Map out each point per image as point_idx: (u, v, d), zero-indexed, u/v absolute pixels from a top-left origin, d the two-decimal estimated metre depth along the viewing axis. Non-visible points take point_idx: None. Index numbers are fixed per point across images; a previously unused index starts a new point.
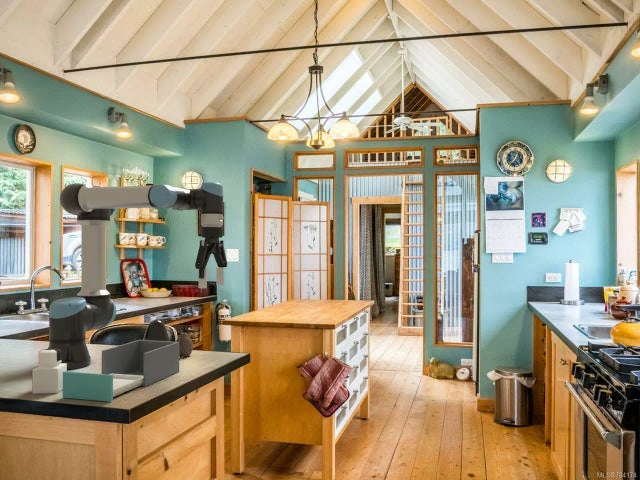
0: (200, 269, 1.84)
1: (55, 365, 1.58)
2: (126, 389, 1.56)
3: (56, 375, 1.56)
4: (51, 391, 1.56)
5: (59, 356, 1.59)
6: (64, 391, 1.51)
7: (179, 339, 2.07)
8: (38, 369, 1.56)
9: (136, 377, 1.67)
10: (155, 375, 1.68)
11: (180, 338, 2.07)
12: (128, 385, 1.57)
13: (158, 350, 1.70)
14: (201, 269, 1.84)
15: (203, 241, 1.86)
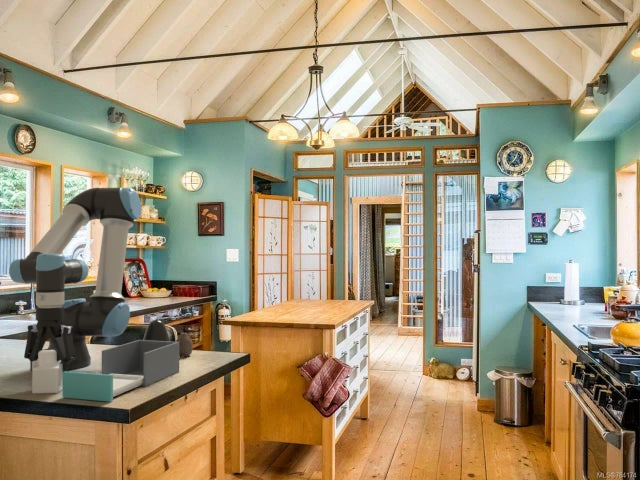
0: None
1: (55, 365, 1.58)
2: (126, 389, 1.56)
3: (56, 375, 1.56)
4: (51, 391, 1.56)
5: None
6: (64, 391, 1.51)
7: (179, 339, 2.07)
8: (38, 369, 1.56)
9: (136, 377, 1.67)
10: (155, 375, 1.68)
11: (180, 338, 2.07)
12: (128, 385, 1.57)
13: (158, 350, 1.70)
14: None
15: None
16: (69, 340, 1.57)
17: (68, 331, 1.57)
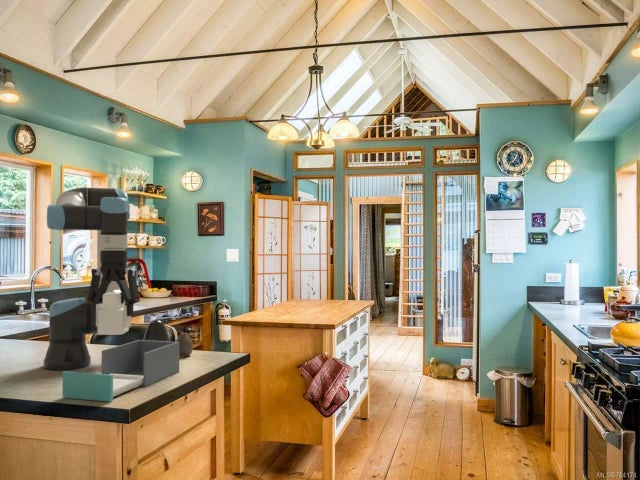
0: None
1: (119, 307, 1.59)
2: (126, 389, 1.56)
3: (121, 316, 1.57)
4: (116, 332, 1.57)
5: (123, 298, 1.60)
6: (64, 391, 1.51)
7: (179, 339, 2.07)
8: (103, 310, 1.57)
9: (136, 377, 1.67)
10: (155, 375, 1.68)
11: (180, 338, 2.07)
12: (128, 385, 1.57)
13: (158, 350, 1.70)
14: None
15: None
16: (133, 282, 1.59)
17: (132, 273, 1.59)
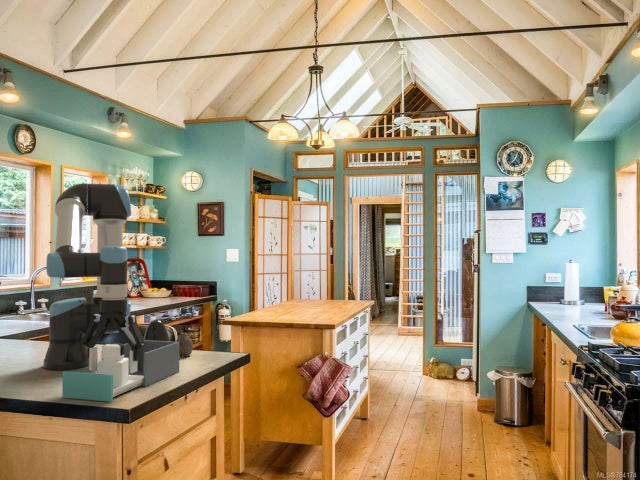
0: None
1: (119, 359, 1.59)
2: (126, 389, 1.56)
3: (120, 369, 1.57)
4: (115, 385, 1.57)
5: (123, 350, 1.60)
6: (64, 391, 1.51)
7: (179, 339, 2.07)
8: (102, 363, 1.57)
9: (136, 377, 1.67)
10: (155, 375, 1.68)
11: (180, 338, 2.07)
12: (128, 385, 1.57)
13: (158, 350, 1.70)
14: None
15: None
16: (136, 328, 1.58)
17: (133, 320, 1.59)
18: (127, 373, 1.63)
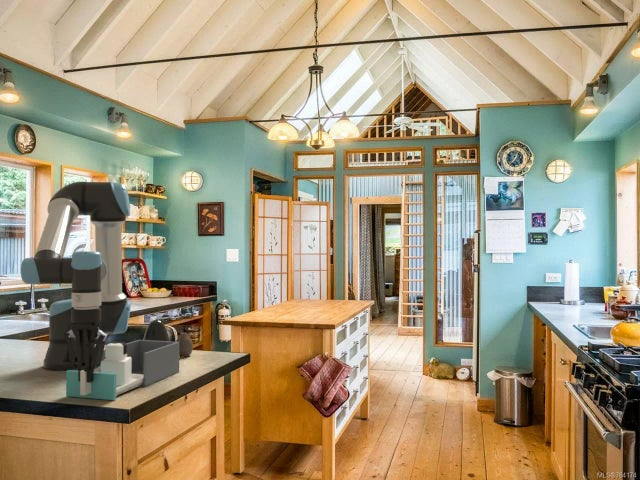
0: None
1: (122, 358, 1.61)
2: (129, 388, 1.57)
3: (123, 368, 1.59)
4: (118, 384, 1.58)
5: (126, 349, 1.62)
6: (68, 390, 1.52)
7: (179, 339, 2.07)
8: (106, 362, 1.58)
9: (139, 376, 1.68)
10: (155, 375, 1.68)
11: (180, 338, 2.07)
12: (131, 384, 1.58)
13: (158, 350, 1.70)
14: None
15: None
16: (101, 348, 1.48)
17: (103, 339, 1.47)
18: (130, 372, 1.64)
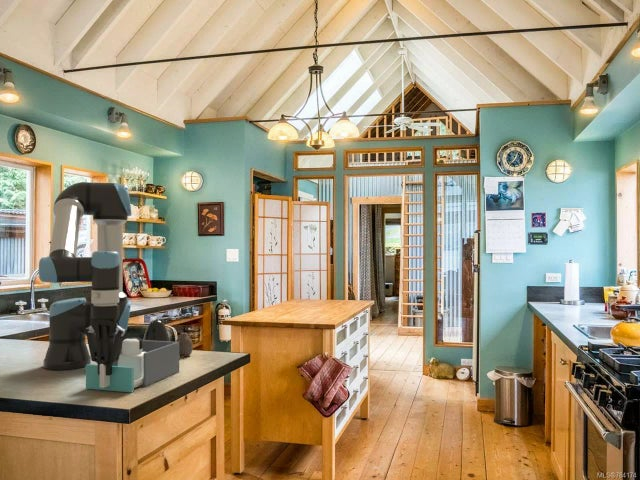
0: None
1: (138, 353, 1.68)
2: None
3: (139, 362, 1.66)
4: (135, 377, 1.66)
5: (141, 344, 1.70)
6: (87, 383, 1.60)
7: (179, 339, 2.07)
8: (123, 356, 1.66)
9: None
10: (155, 375, 1.68)
11: (180, 338, 2.07)
12: None
13: (158, 350, 1.70)
14: None
15: None
16: (119, 343, 1.56)
17: (121, 334, 1.55)
18: None
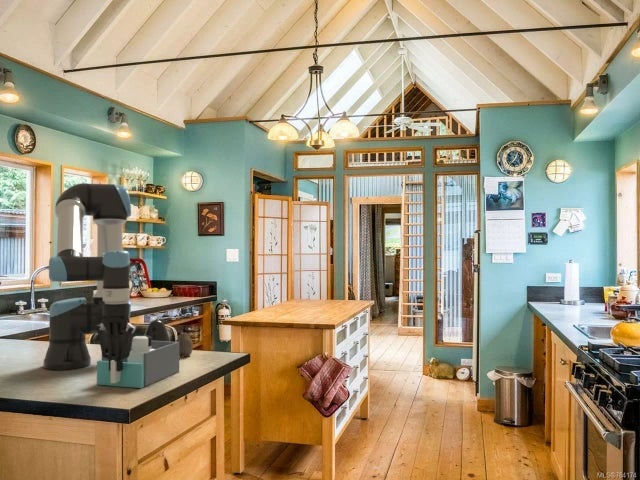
0: None
1: (147, 350, 1.73)
2: None
3: None
4: None
5: (150, 341, 1.74)
6: (98, 379, 1.65)
7: (179, 339, 2.07)
8: (132, 353, 1.71)
9: None
10: (155, 375, 1.68)
11: (180, 338, 2.07)
12: None
13: (158, 350, 1.70)
14: None
15: None
16: (129, 340, 1.60)
17: (132, 331, 1.60)
18: None
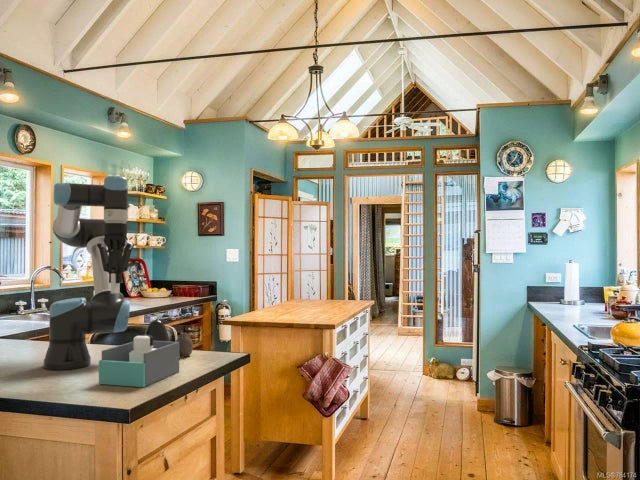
0: None
1: (148, 349, 1.74)
2: None
3: None
4: None
5: (152, 341, 1.75)
6: (100, 378, 1.66)
7: (179, 339, 2.07)
8: (134, 353, 1.72)
9: None
10: (155, 375, 1.68)
11: (180, 338, 2.07)
12: None
13: (158, 350, 1.70)
14: None
15: None
16: (127, 255, 1.81)
17: (130, 247, 1.81)
18: None
